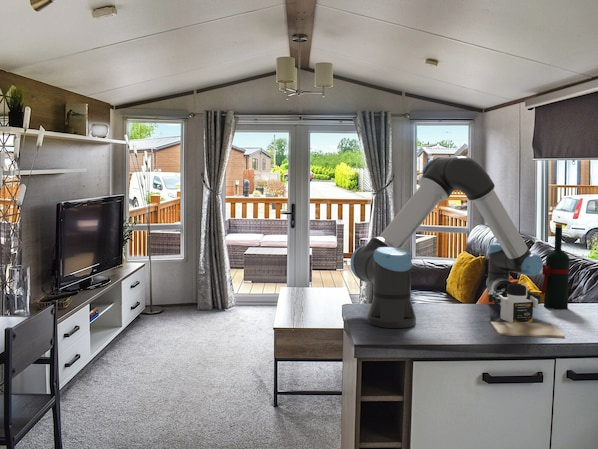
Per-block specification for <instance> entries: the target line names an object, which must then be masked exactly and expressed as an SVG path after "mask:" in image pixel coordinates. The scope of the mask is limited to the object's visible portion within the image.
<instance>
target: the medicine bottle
mask: <svg viewBox="0 0 598 449" xmlns="http://www.w3.org/2000/svg"><path fill="white" fill-rule="evenodd" d="M527 290H528V286H527V284H523V283H519V282H518V283H515V282H512V283H511V284H509V285H508V286H507V296H508V297H504V298H505V299H506V304H505V308H504V307H502V306H501V305H500V319H501V320H503V321H504V322H514V323H533V318H534V316H533V314H534V313H533V311H534V307H533V301H532V300H529V299H526V298H527Z"/></svg>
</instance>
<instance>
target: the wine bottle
mask: <svg viewBox="0 0 598 449" xmlns="http://www.w3.org/2000/svg"><path fill="white" fill-rule="evenodd" d="M554 233H555V234H554V250H551V251H550V252H548V253H547V255H546V258H545V264H544V263H543V267H542V270H541V271H542V272H541V274H542V275H543V276H544V277H543V283H542V289H541V291H540V294H539V296H541V295H542V296H543V307H544V308H545V309H549V310H557V311H559V310H560V311H561V310H562V311H564V310H568V308H569V304H568V303H569V281H570V280H569V279H570V277H569V276H570V257H569V255H568V254H567V253H566V252H565V251H563V250H562V243H563V242H562V241H563V224H562V223H555V228H554Z"/></svg>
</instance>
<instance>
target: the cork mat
mask: <svg viewBox="0 0 598 449" xmlns="http://www.w3.org/2000/svg"><path fill="white" fill-rule="evenodd" d="M490 325H491V326H492V328H493V329H494V330H495V331H496V333H497V334H498V335H499V336H508V337H509V336H510V337H511V336H514V337H516V336H517V337H537V338H560V339H562V338H563V339H564V338H566V337H565V336H566V335H565V334H563V333H562V332H561V331H560V330H558V329H557V328H556V327H555V326H554V325H552V324H551V323H539V322H538V323H537V322H536V323H535V322H532V323H514V322H508V321H490Z"/></svg>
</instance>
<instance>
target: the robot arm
mask: <svg viewBox="0 0 598 449" xmlns="http://www.w3.org/2000/svg"><path fill="white" fill-rule="evenodd" d="M421 172H422V173H421V174H422V175H421V178H420V179H419V187H418V188H417V190H416V191H415V192H414V193H413V194H412V196H411V197H410V198H409V199H408V201H407V202H406V203H405V204H404V205H403V206H402V208H401V209H400V211H399V212H398V213H397V214H396V215H395V216H394V218H393V219H392V220H391V221H390V223H389V224H388V225H387V226H386V228H384V229H383V231H382V232H381V233H380V235H378V236H374V237H373V236H372V237H371V239H370V240H369V241H368V242H367V243H366V245H363V246H360V247H358V248H356V249H355V250H354V251H353V253H352V255H351V258H350V261H349V262H350V263H349V264H350V269H351V272H352V273H353V275H354V276H355V277H356V278H357V279H358V280H360V281H362V282H364V283H368V284H371V285H373V297H372V301H371V304H370V307H369V310H368V312H367V323H368V324H369V325H372V326H374V327H377V328H378V327H379V328H387V329H405V328H410V327H414V326H415V325H416V324H417V323H416V322H417V317H416V314H415V309H414V306H413V303H412V300H411V298H412V297H411V296H412V295H411V294H412V293H411V292H412V267H413V264H412V255H411V253H410V251H407V249H403V248H404V246H405V245H406V244H407V243H408V242H409V240H411V238H412V236H413V235H414V234H415V233H416V231H417V230H418V229H419V228H420V227H421V225H422V224H424V222H425V220H427V218H428V217H429V215H430V214H431V213H432V212H433V211H434V209H435V208H436V207H437V205H438V204H439V203H440V202H445V201H447V200H448V199H449V198H450V197H451V196H452V194H453V192H455V191H459V192H461V193H463V194H464V195H465V196H466V198H467V199H468V201H470V202H473V203H474V205H475V207H476V208H477V210H478V212H479V214H480V215H481V217H482V218H483V220H484V222H485V223H486V224H487V226H488V228H489V230H490V231H491V234H493V236H494V238H495V240H496V241H497V243H496V242H493V243H491V244H490V245H489V252H488V274H487V276H488V277H487V278H486V282H485V285H486V288H487V297H488V303H491V302H494V305H495V306H498V305H499V306H500V307H501V306H502V307H504V308H505V304H506V299H505V298H504V297H508V296H507V286H508V285H509V284H511V283H513V282H512V281H511V277H510V275H511V273H516V274H519V275H520V274H521V275H524V276H532V277H533V276H537V275H538V274H539V273H541V271H542V269H543V264H544V263H543V262H544V261H543V259H542V258H541V257H540V255H538V254H535V253H532V252H531V250H530V249H529V247H528V246H527V244H526V242H525V240H524V239H523V237H522V235H521V234H520V231H518V230H519V229H517V227H516V225H515V223H514V221H513V220H512V218H511V217H510V215H509V214H508V211H507V210H506V208H505V207H504V204H503V203H502V201H501V200H500V197H499V196H498V194H497V193H496V191H495V187H496V185H495V183H494V182H493V180H492V178H491V177H490V175H489V174H488V172H487V171H486V170H485V168H483V166H482V165H481V164H480V163H479V162H477V161H476V160H475V159H473V158H472V157H469V156H466V155H457V156H455V155H454V156H438V157H435V158H432V159H430V160H428V161H427V162H426V164H425V165H424V167H423V168H422V171H421ZM541 298H542V296H541V295H540V294H536V293H534V292H532V291H530V290H528V289H527V298H526V299H529V300H532V301H533V309H535V310H536V309H539V307H538V306H539V305H540V304H541V300H542V299H541Z"/></svg>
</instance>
